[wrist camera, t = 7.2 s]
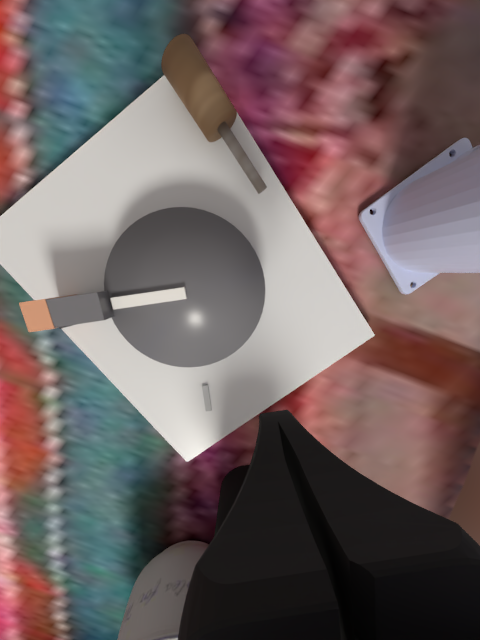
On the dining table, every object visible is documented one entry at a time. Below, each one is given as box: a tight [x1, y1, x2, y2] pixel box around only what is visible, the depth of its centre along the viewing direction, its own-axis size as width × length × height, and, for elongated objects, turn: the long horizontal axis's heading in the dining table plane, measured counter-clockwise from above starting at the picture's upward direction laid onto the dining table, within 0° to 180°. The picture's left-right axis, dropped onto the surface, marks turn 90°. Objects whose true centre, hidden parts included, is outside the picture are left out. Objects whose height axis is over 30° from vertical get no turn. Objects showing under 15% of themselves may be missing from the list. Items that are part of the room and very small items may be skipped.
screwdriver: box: [161, 34, 267, 194], centre depth 15 cm, size 9×2×2 cm, turn 36°
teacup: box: [118, 541, 209, 640], centre depth 22 cm, size 14×11×8 cm
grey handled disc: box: [19, 207, 265, 367], centre depth 16 cm, size 16×11×3 cm
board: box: [0, 75, 375, 462], centre depth 19 cm, size 20×24×1 cm
